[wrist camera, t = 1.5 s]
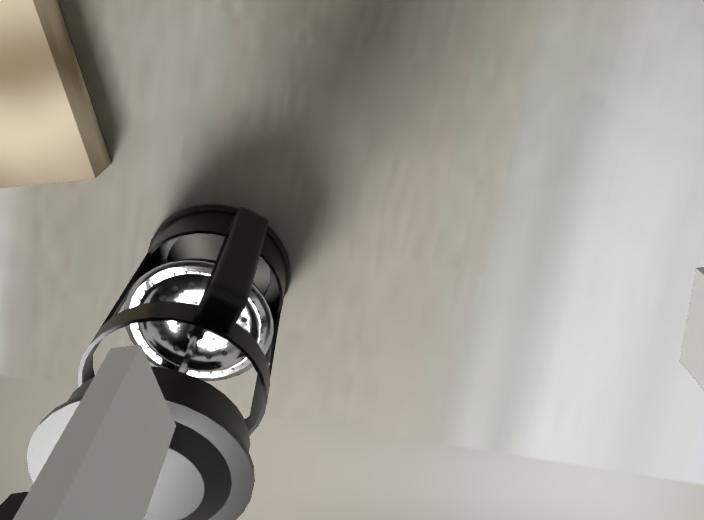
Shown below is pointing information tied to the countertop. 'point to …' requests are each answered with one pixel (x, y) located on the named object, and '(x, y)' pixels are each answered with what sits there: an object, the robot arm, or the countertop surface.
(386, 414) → the countertop surface
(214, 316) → the french press
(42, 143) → the cutting board
